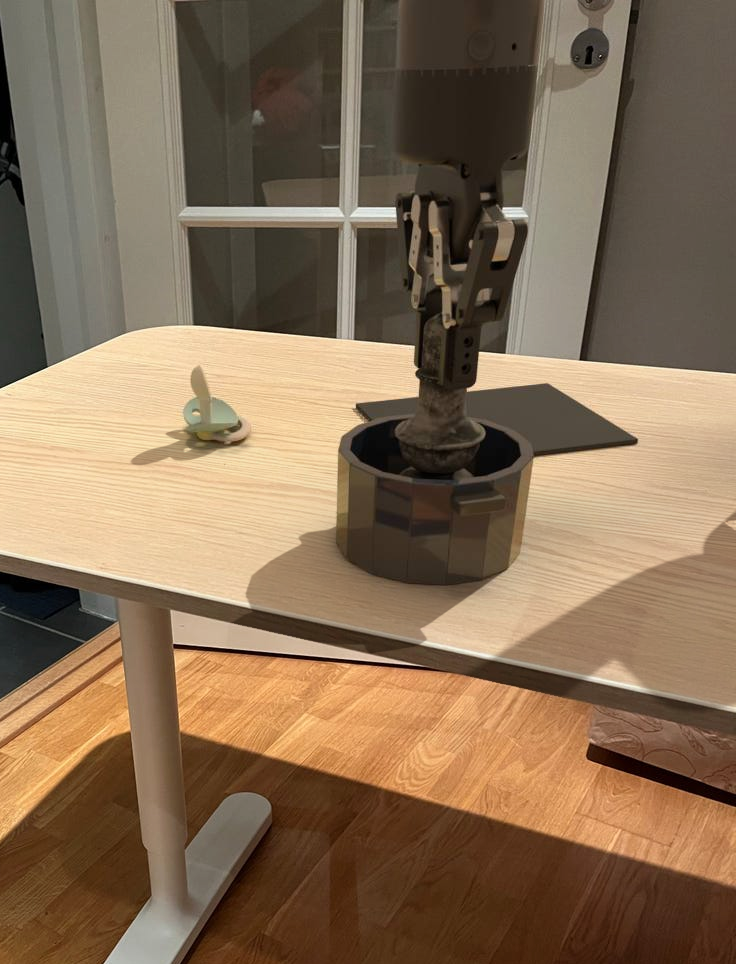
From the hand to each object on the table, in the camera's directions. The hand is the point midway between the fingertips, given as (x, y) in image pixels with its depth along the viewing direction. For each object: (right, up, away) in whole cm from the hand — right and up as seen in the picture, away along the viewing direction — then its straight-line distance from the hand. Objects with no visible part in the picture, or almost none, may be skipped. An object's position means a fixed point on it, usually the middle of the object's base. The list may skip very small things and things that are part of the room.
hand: (443, 376), depth 59 cm
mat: (+9, +3, +25) cm, 27 cm away
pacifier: (-15, +2, +25) cm, 30 cm away
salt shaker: (0, -6, +4) cm, 7 cm away
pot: (0, -10, +6) cm, 12 cm away
